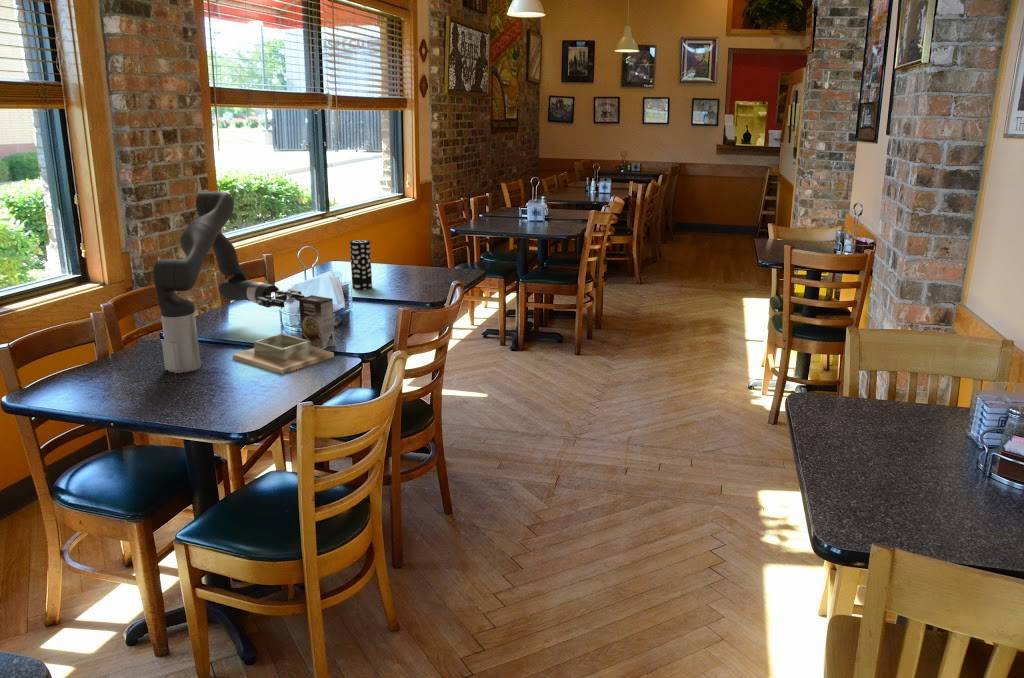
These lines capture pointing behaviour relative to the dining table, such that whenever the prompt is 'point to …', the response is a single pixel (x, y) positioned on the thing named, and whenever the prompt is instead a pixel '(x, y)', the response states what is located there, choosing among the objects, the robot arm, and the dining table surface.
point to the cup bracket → (283, 353)
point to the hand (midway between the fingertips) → (293, 301)
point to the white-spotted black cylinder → (361, 264)
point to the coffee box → (317, 320)
